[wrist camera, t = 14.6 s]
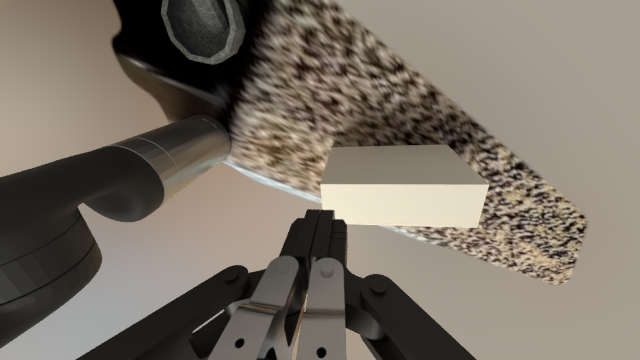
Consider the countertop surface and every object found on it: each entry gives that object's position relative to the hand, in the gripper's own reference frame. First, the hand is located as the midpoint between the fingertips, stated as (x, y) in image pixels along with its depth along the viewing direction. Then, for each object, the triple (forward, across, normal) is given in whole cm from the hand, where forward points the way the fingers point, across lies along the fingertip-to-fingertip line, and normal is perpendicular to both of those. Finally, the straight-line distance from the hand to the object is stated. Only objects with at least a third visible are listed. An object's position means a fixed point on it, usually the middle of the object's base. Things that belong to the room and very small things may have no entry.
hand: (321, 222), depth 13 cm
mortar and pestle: (+29, +17, -14) cm, 37 cm away
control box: (+29, -7, +8) cm, 31 cm away
